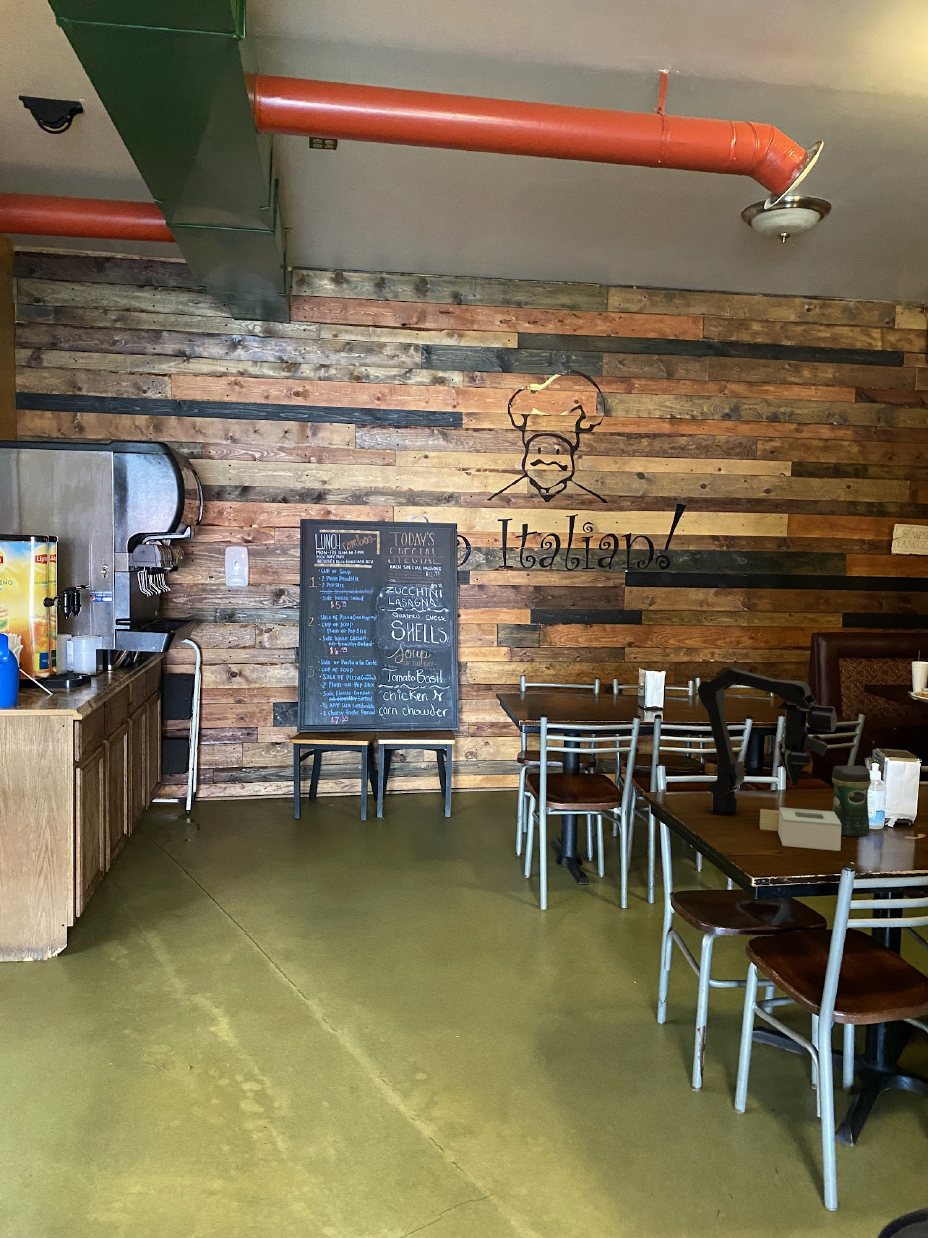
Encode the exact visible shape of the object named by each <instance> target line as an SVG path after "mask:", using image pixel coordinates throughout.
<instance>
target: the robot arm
mask: <svg viewBox="0 0 928 1238" xmlns="http://www.w3.org/2000/svg"><path fill="white" fill-rule="evenodd" d="M735 684H737V685H740V686H744V687H748V688H752V689H754V690H755V689H756V690H760V691H763V692H767V693H770V694H773V695H775V696H777V697H778V698H779V699H781V700H783V702H782V703H781V704H780V705H778V706H777V709H779V710H782V711H783V710H785V713H784V714H785V715H784V727H783V728H782V732H783V738H781V739H780V740H779V741H778V742H777V749H778V753H779V755H780V756H779V757H780V759H781V762H782V765H783V767H784V771H785V773H786V776H787V778H790V781H791V785H792V786H794V787H795V786H798V783H799V780H800V776H801V774H802V772H803V769H804V768H806V767H809V765H811V763H812V756H811V755H810V754H809V750H810V751H812V752H814V753H817V754H818V755H820V756H822V757H823V756H824V755H825V752H826V750H827V748H828V744H827V743H826V742H824V741H823V740H822V739H821V736H820V735H818V734H816V733H814V734H813V735H811V736H810V735H809V733H808V731H807V726H808V727H810V729H811V730H815V731H816V730H817V731H823V732H830V733H834V732H835V730H836V728H837V722H838V718H837V713H836V707H835V706H831V705H830V706H824V705H819V704H818V702H817V701H816V699H815V698H814V696H813V695H812V693H811V692H812V691H811V687H810V686H809V684H808V683H807V682H806V681H805V682H804V681H800V680H789V679H788V680H787V679H784V680H783V679H775V678H772V677H769V676H766V675H765V676H764V675H761V674H757V673H753V672H750V671H746V670H742V669H740V668H736V667H734V668H730V669H728V670H727V671H725V672H723V673H722V674H720V675H718V676H717V677H714V678H713V679H709V680H705V681H702V682H701V683H699V684H698V686H697V688H696V689H697V695H698V698H699V700H700V703H701V704H702V706H703V707H704V709H705V710H706V712H707V715H708V720H709V724H710V725H709V726H710V728H711V734H712V737H713V742H714V747H715V751H716V755H717V764H716V780H715V781H713V782H712V783H711V784H710V785H708V788H709V792H710V793H711V794H712V795H711V796H712V797H711V798H712V799H711V808H710V809H711V814H712V815H713V814H714V815H724V816H736V813H737V807H738V806H737V803H738V797H737V796H736V792H735V791H737V790H738V787H739V786H740V785H742V784H743V782H744V781H745V776H746V775H747V773H746V771H745V768H744V762H743V760H739V761H738V760H737V758H736V757H735V754H734V750H733V746H732V745H733V744H732V741H731V737H730V732H729V728H728V723H727V719H726V716H725V711H724V707H725V706H724V705H725V702H726V695H725V691H726V690H727V689H730V688H731V687H732V686H734V685H735Z"/></svg>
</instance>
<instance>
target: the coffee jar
mask: <svg viewBox="0 0 928 1238" xmlns="http://www.w3.org/2000/svg"><path fill="white" fill-rule="evenodd" d="M831 781H832V784H833V791H834V792H833V800H832V801H833V802H832V808H831V811H832V812H835V814H836V816H837V818H838V819H839V821H840V823H841V836H853V837H855V836H856V837H857V836H867V835H869V833H870V818H869V817H870V816H869V805H868V804H869V802H868V801H869V799H868V796H869V795H868V793H869V788H870V787H871V786H870V785H871V782H872V779H871V772H870V770H869V768H868V767H865V766H863V765H835V766H833V768H832V775H831Z"/></svg>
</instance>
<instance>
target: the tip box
mask: <svg viewBox="0 0 928 1238" xmlns="http://www.w3.org/2000/svg"><path fill="white" fill-rule="evenodd" d="M778 810H779V824H778V831H777V832H778V836H779V838H780V841H781V845H782V847H791V848H792V847H793V848H794V847H795V848H802V849H805V848H806V849H816V850H824V851H825V850H827V851H835V852H836V851H837V852H838V851H839V852H840V851H841V844H842V843H841V842H842V835H841V823H840V821H839V819H838V818H837V816H836V814H835V812H832V810H830V811H829V810H819V809H818V810H817V809H805V808H791V807H782V806H781V807H780V806H779V807H778Z"/></svg>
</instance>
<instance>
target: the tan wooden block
mask: <svg viewBox="0 0 928 1238" xmlns="http://www.w3.org/2000/svg"><path fill="white" fill-rule="evenodd" d="M759 812H760V813H759V829H760V830H761V831H775V832H778V824H779V809H778V810H776V809H766V808H765V809H764V808H760V809H759Z"/></svg>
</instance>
